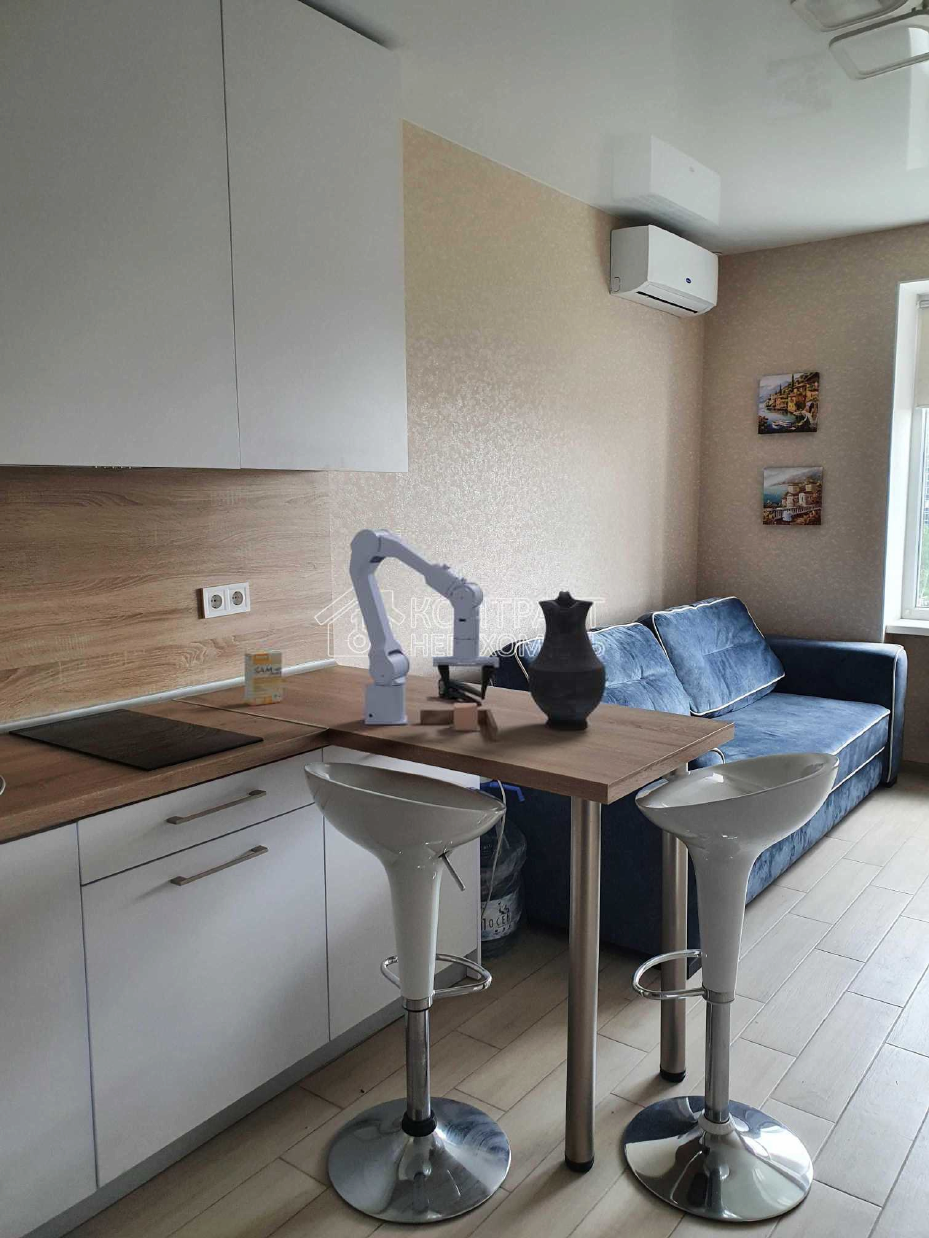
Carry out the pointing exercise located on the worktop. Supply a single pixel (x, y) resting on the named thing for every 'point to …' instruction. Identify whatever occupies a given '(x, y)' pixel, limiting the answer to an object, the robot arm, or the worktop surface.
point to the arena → (448, 717)
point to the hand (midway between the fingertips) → (465, 698)
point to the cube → (465, 716)
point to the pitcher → (566, 666)
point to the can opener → (459, 691)
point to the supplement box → (263, 677)
